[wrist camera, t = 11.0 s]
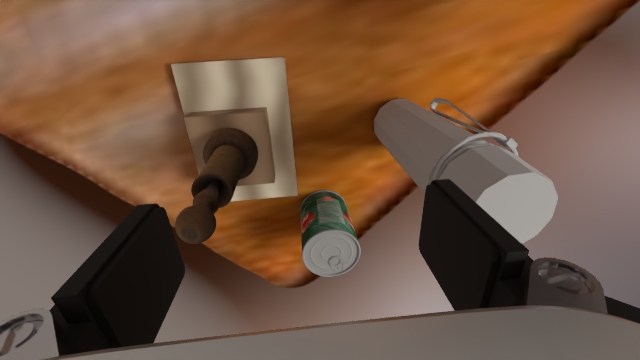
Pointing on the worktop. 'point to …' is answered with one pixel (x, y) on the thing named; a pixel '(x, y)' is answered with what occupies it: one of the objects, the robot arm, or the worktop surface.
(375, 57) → the worktop surface
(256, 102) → the birch board
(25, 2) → the worktop surface
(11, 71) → the worktop surface
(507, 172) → the water bottle
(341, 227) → the canned tomato
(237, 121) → the walnut base block
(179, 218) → the brown wooden pepper mill
